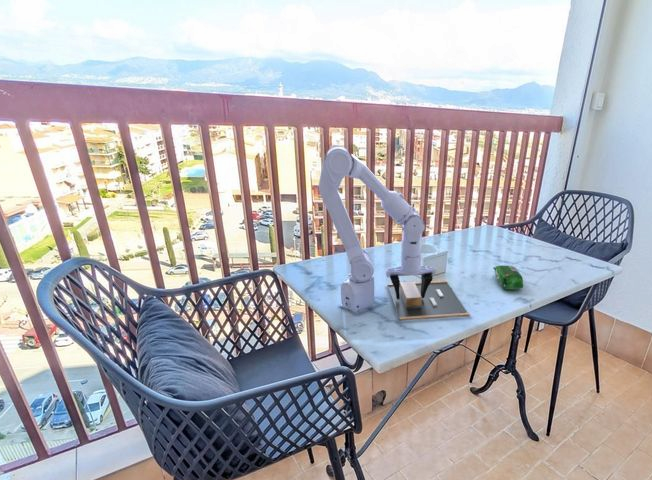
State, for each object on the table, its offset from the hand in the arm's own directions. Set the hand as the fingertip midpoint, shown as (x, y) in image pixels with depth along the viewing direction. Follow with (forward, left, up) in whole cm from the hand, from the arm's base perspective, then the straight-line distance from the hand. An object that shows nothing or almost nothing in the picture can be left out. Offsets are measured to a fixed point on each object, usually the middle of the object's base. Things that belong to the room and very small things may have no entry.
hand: (410, 297), depth 120 cm
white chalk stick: (+10, -4, -1) cm, 10 cm away
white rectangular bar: (+3, -6, -1) cm, 7 cm away
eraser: (0, 0, -1) cm, 1 cm away
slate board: (+4, -3, -2) cm, 5 cm away
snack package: (+34, -13, -2) cm, 37 cm away
